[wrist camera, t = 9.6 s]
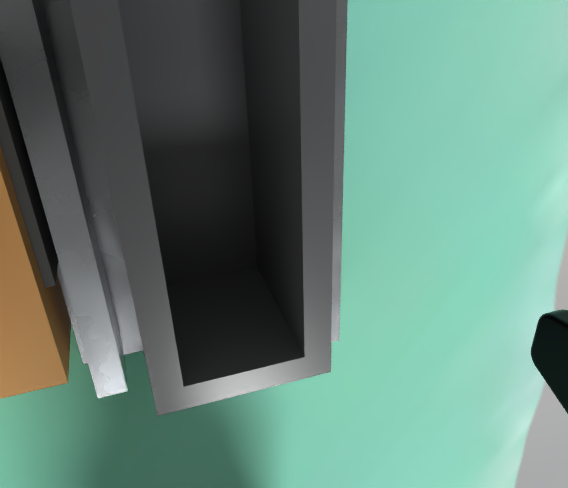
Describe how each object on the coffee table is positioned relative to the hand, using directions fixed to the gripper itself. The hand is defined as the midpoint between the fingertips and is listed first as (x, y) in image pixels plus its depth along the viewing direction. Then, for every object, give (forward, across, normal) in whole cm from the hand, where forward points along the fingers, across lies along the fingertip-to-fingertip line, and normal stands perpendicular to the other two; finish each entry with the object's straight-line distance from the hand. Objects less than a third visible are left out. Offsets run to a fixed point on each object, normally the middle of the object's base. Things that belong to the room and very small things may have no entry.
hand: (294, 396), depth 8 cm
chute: (+11, 0, -1) cm, 11 cm away
